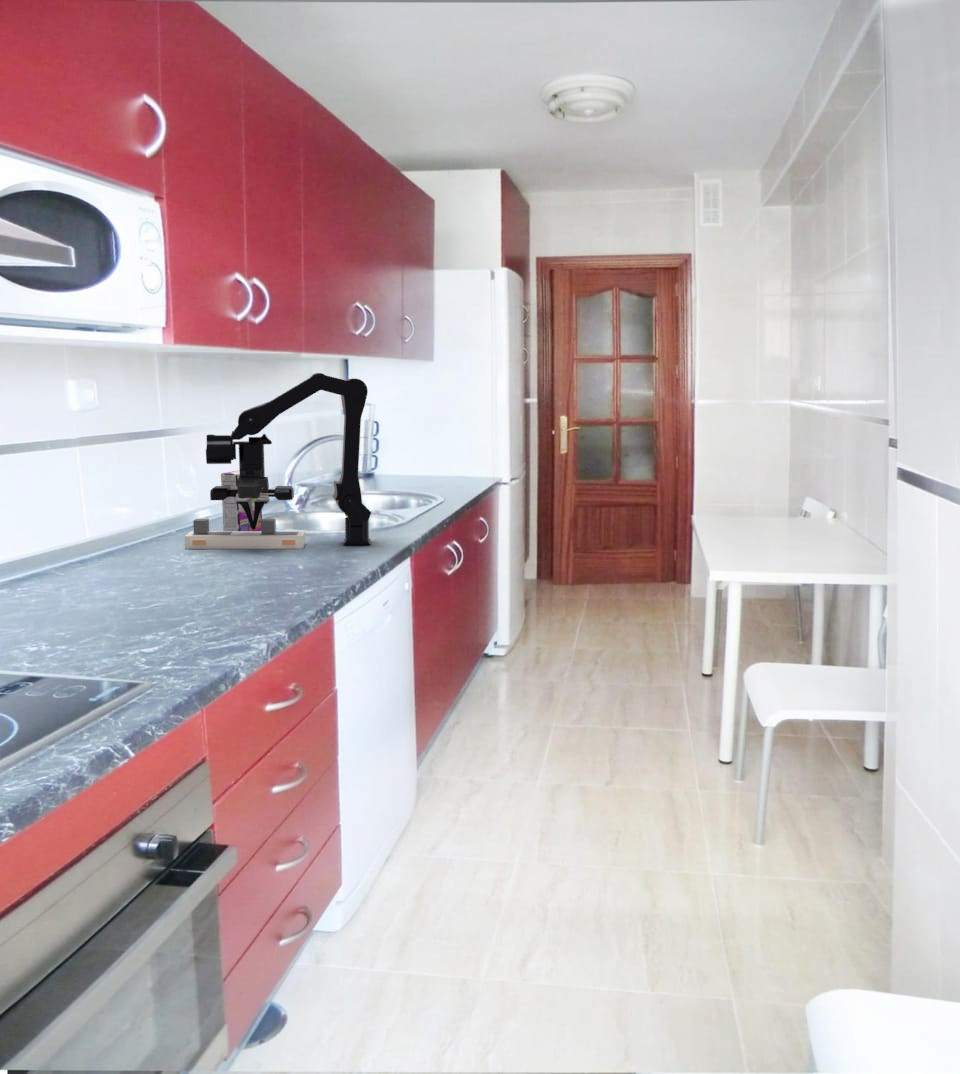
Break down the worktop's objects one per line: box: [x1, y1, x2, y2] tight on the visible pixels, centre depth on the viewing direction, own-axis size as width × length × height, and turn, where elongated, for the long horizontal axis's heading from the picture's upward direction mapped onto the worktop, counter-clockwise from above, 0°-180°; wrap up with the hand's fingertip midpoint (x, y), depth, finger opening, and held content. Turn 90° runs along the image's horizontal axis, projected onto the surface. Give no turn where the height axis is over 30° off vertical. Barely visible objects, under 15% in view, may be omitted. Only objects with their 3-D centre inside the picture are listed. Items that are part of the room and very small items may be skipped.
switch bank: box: [184, 530, 306, 550], centre depth 220 cm, size 7×27×3 cm, turn 96°
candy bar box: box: [220, 469, 263, 531], centre depth 234 cm, size 11×5×16 cm, turn 162°
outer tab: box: [193, 518, 210, 533], centre depth 219 cm, size 3×3×3 cm
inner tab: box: [261, 518, 277, 533], centre depth 220 cm, size 3×3×3 cm
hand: (253, 529), depth 220 cm, fingers closed
